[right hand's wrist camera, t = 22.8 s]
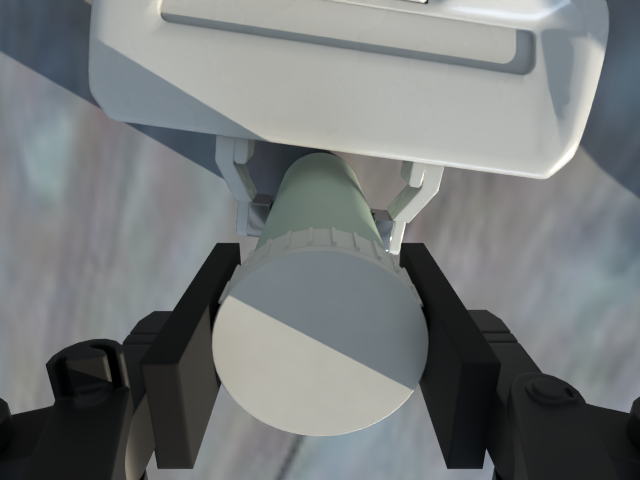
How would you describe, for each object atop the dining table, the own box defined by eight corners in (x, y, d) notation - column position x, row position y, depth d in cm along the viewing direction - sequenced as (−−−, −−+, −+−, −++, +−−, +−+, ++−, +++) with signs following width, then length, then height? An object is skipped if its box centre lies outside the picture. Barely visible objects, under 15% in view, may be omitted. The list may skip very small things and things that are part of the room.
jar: (278, 224, 27) (226, 398, 12) (284, 148, 26) (232, 239, 10) (353, 232, 28) (393, 412, 12) (364, 157, 26) (427, 259, 11)
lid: (266, 191, 11) (258, 208, 9) (455, 275, 12) (476, 304, 10) (194, 357, 13) (177, 395, 11) (363, 421, 13) (368, 463, 12)
